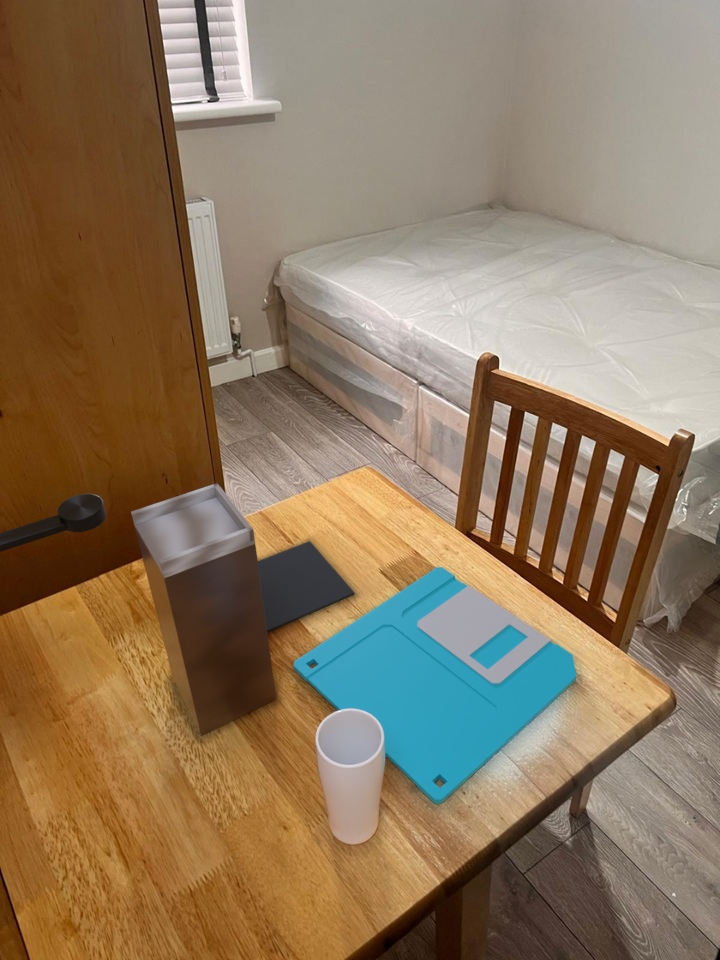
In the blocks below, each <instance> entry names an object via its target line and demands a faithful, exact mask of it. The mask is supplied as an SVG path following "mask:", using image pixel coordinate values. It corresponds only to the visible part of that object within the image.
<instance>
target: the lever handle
mask: <svg viewBox="0 0 720 960" xmlns="http://www.w3.org/2000/svg"><path fill="white" fill-rule="evenodd" d="M104 503H105V502H104V501H103V499H102V498H101V496H99V495H97V494H93V493H82V494H81V493H80V494H77V495H73V496H70V497H69V498H66V499H64V501H63V502H61V503H60V504H59V506H58V507H57V514H56V515H53V516H50V517H47V518H43V519H40V520H37V521H33V522H30V523H27V524H24V525H20V526H18V527H15V528H12V529H8V530H5V531H1V532H0V553H1V552H5V551H8V550H11V549H15V548H17V547H20V546H23V545H26V544H29V543H32V542H35V541H39V540H41V539H45V538H47V537H51V536H53V535H57V534H60V533H63V532H71V533H83V532H84V533H85V532H88V531H91V530H93V529H96V528H98V527H99V526H100V525H102V524H103V523H104V521H105V520H106V518H107V511H106V507H105V504H104Z"/></svg>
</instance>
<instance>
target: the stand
mask: <svg viewBox="0 0 720 960" xmlns="http://www.w3.org/2000/svg"><path fill="white" fill-rule="evenodd" d="M130 514H131V518H132V522H133V526H134V530H135V533H136V539H137V542H138V545H139V549H140V554H141V557H142V561H143V566H144V569H145V573H146V577H147V581H148V585H149V589H150V593H151V598H152V602H153V606H154V609H155V613H156V617H157V621H158V624H159V625H158V626H159V628H160V632H161V633H160V634H161V637H162V640H163V641H162V642H163V645H164V649H165V653H166V656H167V661H168V664H169V669H170V672H171V676H172V680H173V682H174V684H175V686H176V688H177V691H178V692H179V695H180V697H181V698H182V700H183V703H184V704H185V707H186V709H187V710H188V712H189V714H190V716H191V718H192V721H193V722H194V724H195V727H196V729H197V730H198V732H199V735H200V736H201V737H202V736H205V735H207V734H209V733H211V732H212V731H215V730H216V729H217V730H218V729H219V728H222V727H223V726H225V725H227V724H230V723H231V722H234V721H236V720H238V719H240V718H242V717H244V716H246V715H249V714H251V713H252V712H254V711H256V710H258V709H260V708H262V707H265V706H267V705H269V704H271V703H273V702H275V701H277V696H276V695H277V694H276V687H275V680H274V672H273V665H272V657H271V651H270V643H269V635H268V632H267V627H266V619H265V612H264V605H263V597H262V590H261V582H260V575H259V567H258V561H259V560H258V553H257V546H256V545H257V544H256V540H255V539H256V537H255V531H254V528H253V527H252V525H251V524H250V522H249V521H247V519H246V517H245V516H244V515H243V513H242V512H241V511H240V509H238V508H237V506H236V505H235V504H234V502H233V501H232V500H231V499H230V498H229V496H228V495H227V493H226V492H225V491H224V490H223V488H222V487H221V486H220V484H219V483H218V482H216V483H212V484H210V485H207V486H204V487H201V488H198V489H195V490H192V491H188V492H186V493H183V494H180V495H177V496H174V497H170V498H168V499H165V500H162V501H159V502H156V503H153V504H150V505H147V506H144V507H141V508H138V509H135V510H132V511H130Z"/></svg>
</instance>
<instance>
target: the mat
mask: <svg viewBox="0 0 720 960" xmlns="http://www.w3.org/2000/svg"><path fill="white" fill-rule="evenodd" d="M258 567H259V575H260V582H261V590H262V597H263V605H264V612H265V619H266V627H267V633H269V632H272V631H274V630H277V629H279V628H282V627H284V626H286V625H288V624H290V623H293V622H295V621H297V620H299V619H302V618H305V617H306V616H308V615H311V614H313V613H315V612H317V611H320V610H322V609H325V608H327V607H329V606H331V605H334V604H336V603H338V602H341V601H343V600H345V599H348V598H349V597H352V596H354V595H355V591H354V590H353V589H352V588H351V587H350V585H348V584H347V582H346V581H345V579H343V577H341V575H340V574H339V572H337V570H336V569H335V568H334V567H333V566H332V565H331V564H330V563H329V561H328V560H327V559H326V558H325V556H323V555H322V553H321V552H320V551H319V550H318V549H317V547H315V545H314V544H313V543H312V541H311V540H309V541H306V542H304V543H301V544H299V545H296V546H293V547H291V548H287V549H286V550H283V551H281V552H278V553H275V554H273V555H270V556H267V557H265V558H262V559H260V560H258Z"/></svg>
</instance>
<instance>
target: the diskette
mask: <svg viewBox="0 0 720 960" xmlns="http://www.w3.org/2000/svg"><path fill="white" fill-rule="evenodd" d="M312 664H314V665H315V666H314V667H310V666H312ZM293 670H294V671H295V673H296V674H298V675H299V677H301V679H303V680H304V681H305V682H307V683H308V684H309V685H311V687H313V688H314V689H315V690H316V691H317V692H318V693H319V694H320V695H321V696H322V697H323V698H324V699H325V700H326V701H327V702H328V703H329V704H331V706H333V708H335V710H336V711H339V710H342V709H359V710H363V711H366V712H368V713H369V714H371V715H373V716H374V717H375V718H376V719H377V720H378V721H379V723H380V724H381V726H382V728H383V731H384V739H385V758H386V757H387V759H388V760H389V761H390V762H392V764H394V766H396V767H397V768H398V769H399V770H400V771H401V772H402V773H403V774H404V775H405V776H406V777H407V778H408V779H409V780H410V781H412V782H413V784H414V785H416V787H417V788H418V790H420V792H421V793H423V794H424V795H425V796H426V797H427V798H428V799H429V800H430V801H431V802H432V803H433V804H434V805H441V804H443V803H444V802H445V801H446V800H447V799H448V798H449V797H450V796H451V795H452V794H454V793H455V792H456V791H457V790H458V789H459V788H460V787H461V786H462V785H464V784H465V783H466V782H467V781H468V780H469V779H470V778H471V777H473V775H474V774H476V773H477V772H478V771H479V770H480V769H481V768H482V767H483V766H484V765H485V764H486V763H487V762H488V761H490V760H491V759H492V758H493V757H494V756H496V754H497V753H498V752H500V750H502V749H503V748H504V747H505V746H506V745H507V744H508V743H509V742H511V740H513V738H515V737H516V736H517V735H518V734H519V733H520V732H521V731H522V730H524V728H526V727H527V726H528V725H529V724H530V723H531V722H532V721H533V720H534V719H535V718H537V717H538V716H539V715H540V714H541V713H542V712H543V711H544V710H545V709H547V708H548V707H549V706H550V705H551V704H552V703H553V702H554V701H555V700H556V699H557V698H558V697H560V696H561V695H562V694H563V693H564V692H565V691H566V690H567V689H568V688H569V687H571V685H573V684H574V683H575V682H576V681H577V676H578V675H577V672H576V665H575V660H574V655H573V653H571V652H569V651H568V650H566V649H565V648H563V647H562V646H560V645H559V644H557V643H556V644H555V643H554V642H553V641H552V639H550V638H549V637H547V636H545V635H544V634H542V633H541V632H539V631H538V630H537V629H535V628H534V627H532V626H530V625H529V624H528V623H526V622H525V621H523V620H522V619H521V618H519V617H517V616H515V614H513V613H511V612H510V611H508V610H507V609H505V608H504V607H502V606H501V605H499V604H498V603H496V602H495V601H493V600H492V599H490V598H489V597H487V596H486V595H484V594H483V593H481V592H480V591H479V590H477V589H475V588H474V587H473V586H471V585H467V584H466V583H464V582H461V581H460V580H458V579H457V578H456V576H455V574H453V573H451V572H450V571H448V570H447V569H446V568H444V567H442V566H437V567H435V568H433V569H432V570H430V571H429V572H427V573H426V574H425V575H423V576H421V577H420V578H418V579H417V580H415V581H414V582H412V583H410V585H408V586H406V587H404V588H403V589H402V590H400V591H399V592H397V593H396V594H394V595H393V596H391V597H389V598H388V599H387V600H385V601H383V602H382V603H380V604H379V605H377V606H376V607H375V608H373V609H372V610H370V611H368V612H367V613H365V614H364V615H362V616H361V617H359V618H358V619H356V620H355V621H353V622H352V623H350V624H349V625H347V626H346V627H344V628H342V629H341V630H340V631H338V632H337V633H335V634H334V635H332V636H331V637H329V638H328V639H326V640H325V641H323V642H321V643H320V644H319V645H317V646H315V647H314V648H313V649H311V650H309V651H308V652H306V653H305V654H303V655H301V656H300V657H299V658H297V659H296V660H294V661H293ZM438 780H440V781H441V782H443V783H444V784H443V785H442V786H440V787H439V786H438V785H437V784H436V782H437V781H438Z"/></svg>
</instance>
